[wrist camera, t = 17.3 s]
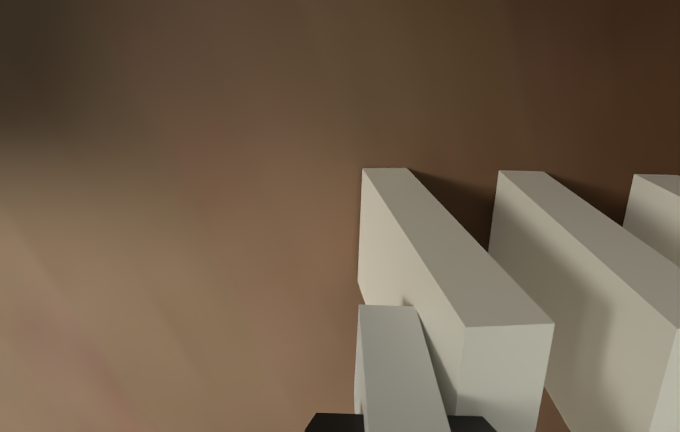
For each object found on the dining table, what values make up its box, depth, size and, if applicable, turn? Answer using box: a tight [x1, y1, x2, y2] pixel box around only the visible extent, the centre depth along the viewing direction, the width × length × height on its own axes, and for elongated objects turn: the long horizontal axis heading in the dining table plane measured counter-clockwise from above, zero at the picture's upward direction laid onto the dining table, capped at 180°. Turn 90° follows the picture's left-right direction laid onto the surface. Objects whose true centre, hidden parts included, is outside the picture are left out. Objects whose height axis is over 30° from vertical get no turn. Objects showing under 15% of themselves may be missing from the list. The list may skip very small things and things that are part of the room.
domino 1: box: [358, 168, 555, 432], centre depth 17 cm, size 2×5×12 cm, turn 178°
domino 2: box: [488, 170, 680, 432], centre depth 17 cm, size 2×5×12 cm, turn 179°
